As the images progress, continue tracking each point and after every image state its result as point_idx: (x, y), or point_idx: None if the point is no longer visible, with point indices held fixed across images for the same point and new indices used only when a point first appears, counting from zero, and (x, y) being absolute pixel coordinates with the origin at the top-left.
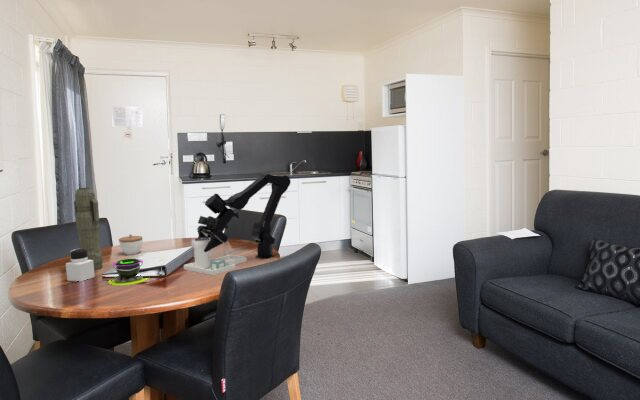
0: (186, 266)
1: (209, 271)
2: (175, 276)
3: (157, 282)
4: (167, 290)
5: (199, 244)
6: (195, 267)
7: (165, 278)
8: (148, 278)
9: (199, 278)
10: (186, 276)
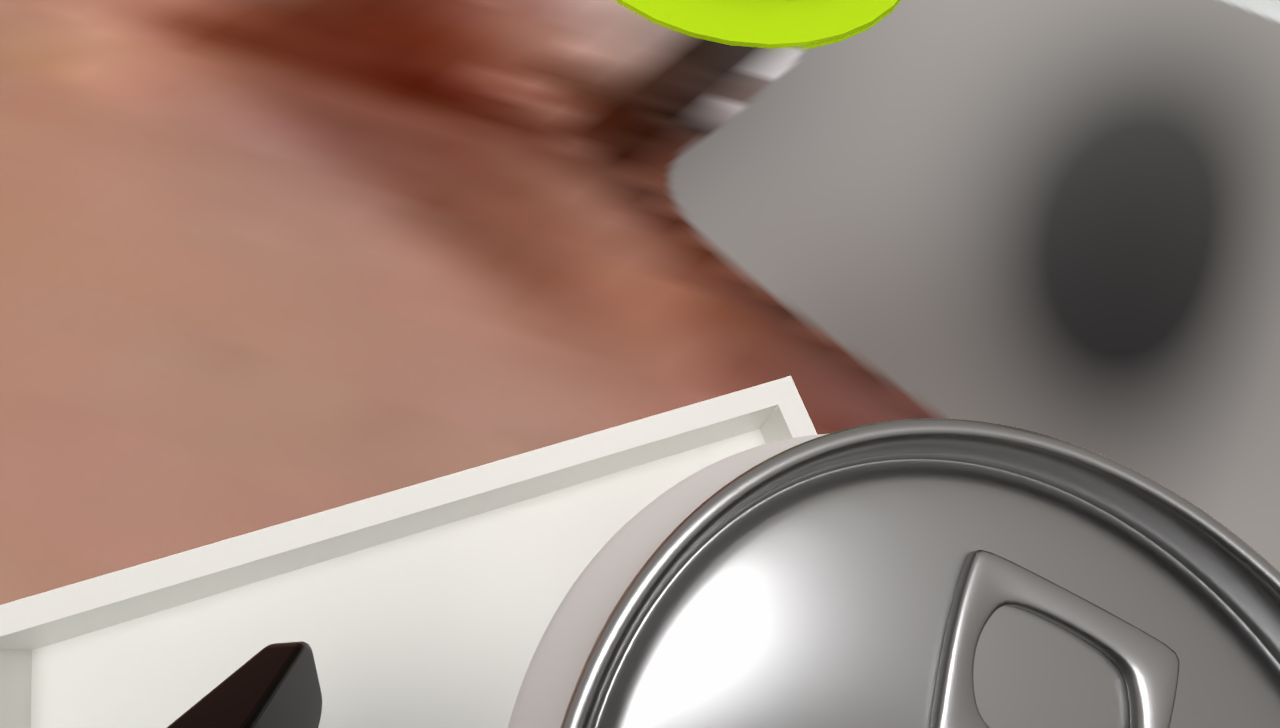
0: (714, 403)
1: (46, 599)
2: (525, 227)
3: (430, 31)
4: (35, 3)
5: (589, 571)
6: (472, 469)
7: (526, 126)
8: (650, 16)
9: (135, 420)
10: (408, 323)
